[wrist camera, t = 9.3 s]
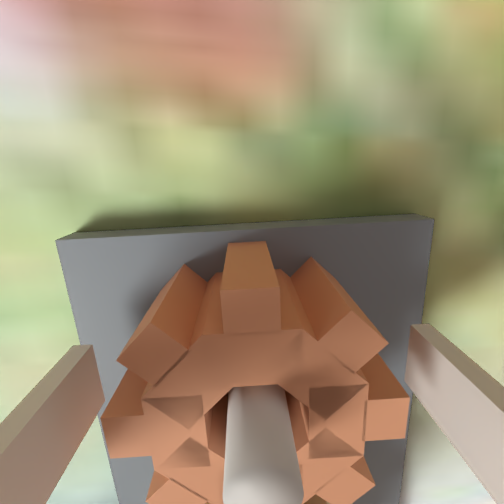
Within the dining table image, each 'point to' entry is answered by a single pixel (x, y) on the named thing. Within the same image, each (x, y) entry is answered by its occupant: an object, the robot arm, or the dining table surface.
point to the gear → (253, 377)
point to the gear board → (331, 242)
